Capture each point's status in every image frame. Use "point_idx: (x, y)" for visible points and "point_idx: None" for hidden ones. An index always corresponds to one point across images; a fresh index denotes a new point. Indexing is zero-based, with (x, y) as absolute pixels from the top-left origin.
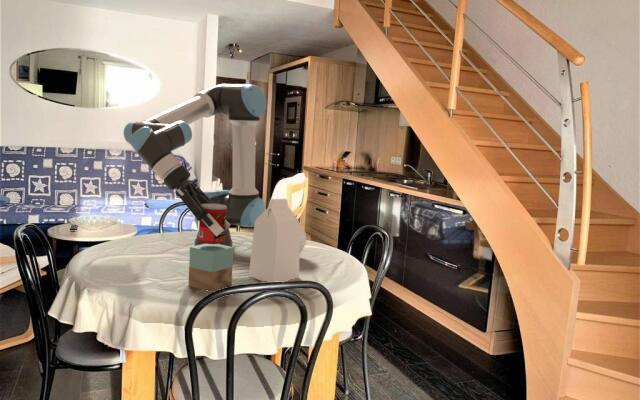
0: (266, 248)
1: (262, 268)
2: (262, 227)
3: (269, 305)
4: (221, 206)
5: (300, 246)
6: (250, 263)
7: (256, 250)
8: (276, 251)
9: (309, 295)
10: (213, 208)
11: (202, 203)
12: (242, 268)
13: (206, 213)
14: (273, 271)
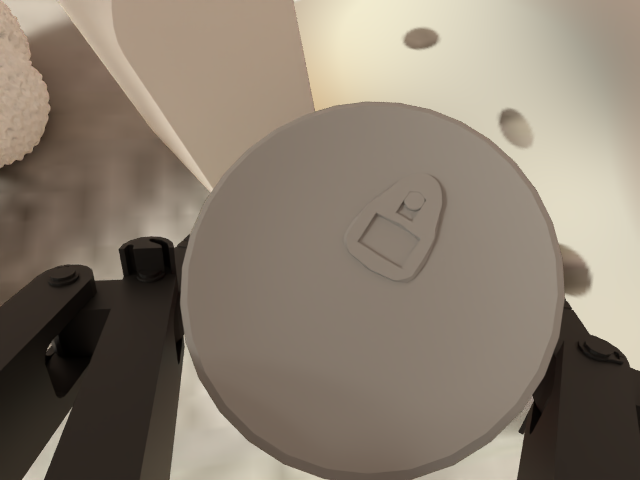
0: (257, 80)
1: None
2: (189, 21)
3: (525, 141)
4: (316, 170)
5: (9, 9)
6: (214, 185)
7: (214, 133)
8: (300, 44)
9: (412, 43)
10: (550, 247)
11: (161, 462)
12: (125, 236)
13: (596, 340)
14: (310, 108)
